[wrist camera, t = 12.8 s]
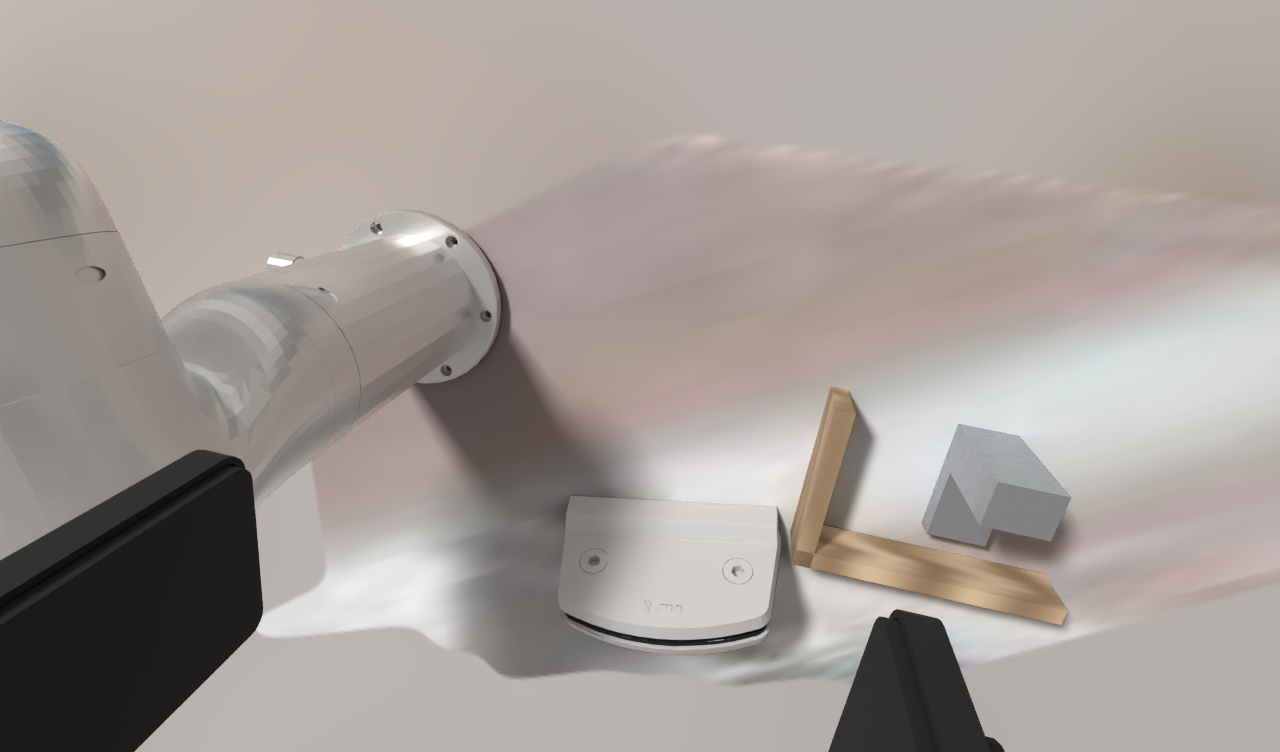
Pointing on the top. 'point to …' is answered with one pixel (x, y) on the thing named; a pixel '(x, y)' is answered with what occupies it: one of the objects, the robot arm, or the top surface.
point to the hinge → (669, 573)
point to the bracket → (993, 490)
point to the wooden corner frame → (901, 543)
